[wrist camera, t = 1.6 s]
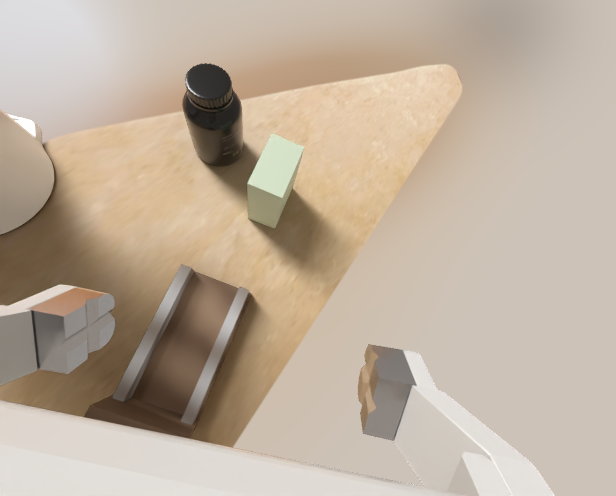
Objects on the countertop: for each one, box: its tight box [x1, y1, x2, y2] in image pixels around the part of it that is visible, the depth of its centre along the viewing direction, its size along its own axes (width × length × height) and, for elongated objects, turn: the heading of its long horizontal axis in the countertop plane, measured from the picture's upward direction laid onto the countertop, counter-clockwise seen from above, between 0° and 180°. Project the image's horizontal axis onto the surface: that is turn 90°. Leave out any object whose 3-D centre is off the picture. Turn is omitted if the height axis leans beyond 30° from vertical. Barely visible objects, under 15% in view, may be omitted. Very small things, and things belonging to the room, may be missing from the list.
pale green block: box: [247, 133, 304, 229], centre depth 36 cm, size 7×4×10 cm, turn 160°
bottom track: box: [84, 264, 251, 439], centre depth 31 cm, size 16×9×6 cm, turn 160°
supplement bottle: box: [182, 63, 243, 166], centre depth 36 cm, size 7×7×12 cm
